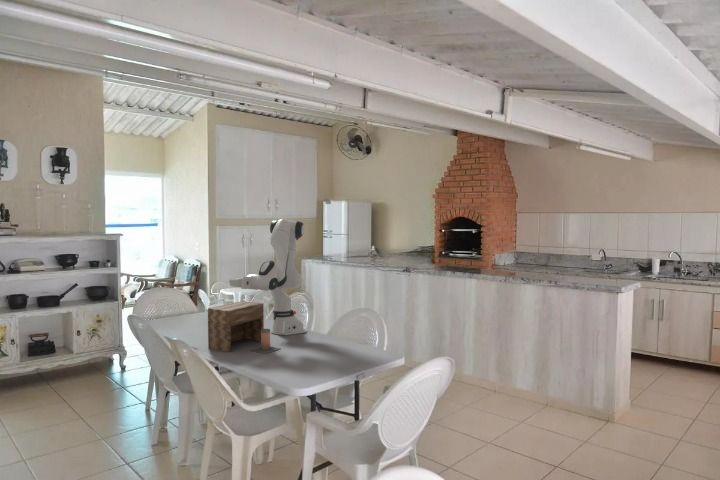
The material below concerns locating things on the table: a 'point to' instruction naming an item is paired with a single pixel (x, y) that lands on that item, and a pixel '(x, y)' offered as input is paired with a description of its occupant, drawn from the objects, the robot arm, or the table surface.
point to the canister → (265, 339)
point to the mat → (266, 350)
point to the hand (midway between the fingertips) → (235, 280)
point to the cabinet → (234, 324)
